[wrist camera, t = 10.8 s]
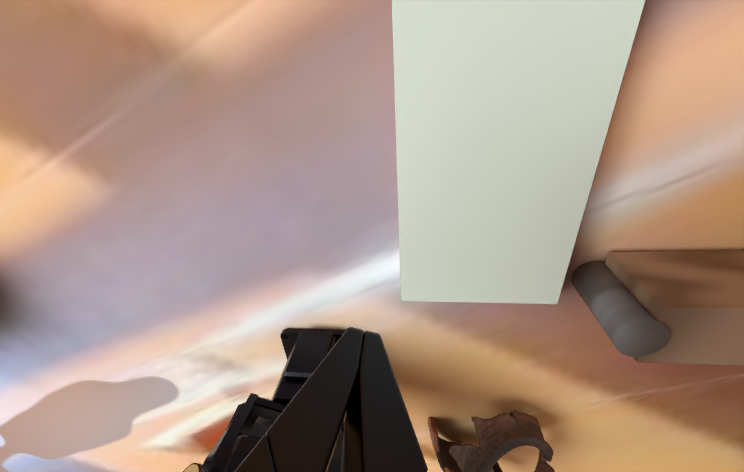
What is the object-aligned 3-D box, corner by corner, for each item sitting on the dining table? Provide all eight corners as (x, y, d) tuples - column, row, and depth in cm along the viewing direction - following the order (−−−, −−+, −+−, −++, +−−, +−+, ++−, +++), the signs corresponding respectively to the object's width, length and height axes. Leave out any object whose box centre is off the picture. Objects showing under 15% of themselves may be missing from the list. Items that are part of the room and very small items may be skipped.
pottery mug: (409, 395, 30) (452, 465, 23) (492, 354, 32) (558, 406, 24) (441, 490, 33) (490, 584, 25) (516, 447, 35) (583, 522, 27)
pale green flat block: (546, 286, 22) (557, 303, 20) (401, 284, 23) (401, 300, 22) (654, -130, 12) (691, -157, 10) (391, -93, 13) (388, -113, 12)
